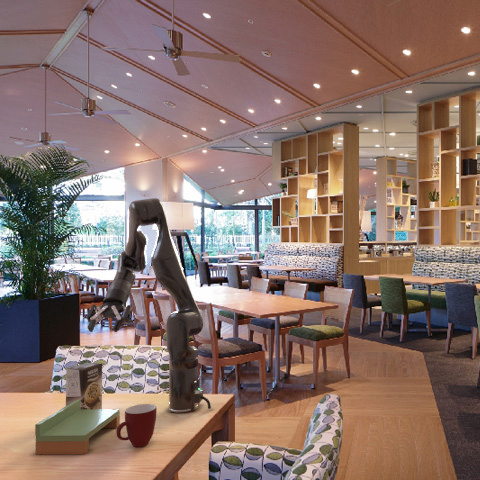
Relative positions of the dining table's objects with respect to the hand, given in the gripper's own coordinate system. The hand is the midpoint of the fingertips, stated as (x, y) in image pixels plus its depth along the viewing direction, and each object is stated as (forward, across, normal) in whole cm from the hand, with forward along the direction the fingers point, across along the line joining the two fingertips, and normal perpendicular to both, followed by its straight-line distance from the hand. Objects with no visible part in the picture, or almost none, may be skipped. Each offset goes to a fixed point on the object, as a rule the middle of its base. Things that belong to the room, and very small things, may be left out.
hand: (102, 330), depth 170 cm
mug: (+43, +27, -7) cm, 51 cm away
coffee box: (+26, 0, +10) cm, 28 cm away
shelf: (+40, +9, -4) cm, 41 cm away
